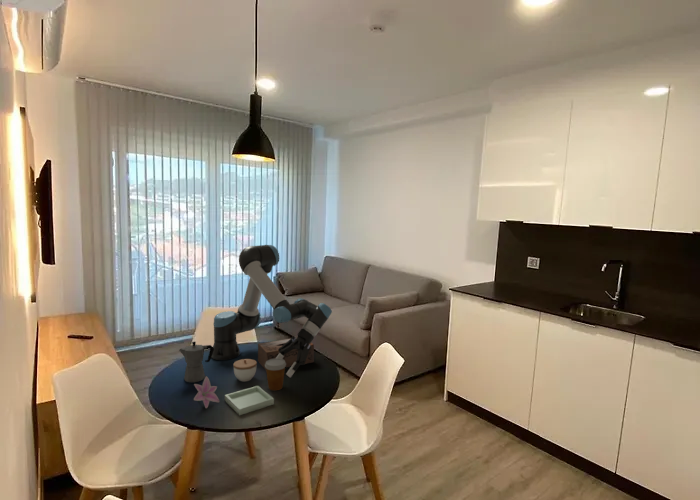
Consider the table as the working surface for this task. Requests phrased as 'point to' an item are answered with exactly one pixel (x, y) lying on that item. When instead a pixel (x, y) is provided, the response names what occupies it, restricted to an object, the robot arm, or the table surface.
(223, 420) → the table surface
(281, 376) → the disposable coffee cup
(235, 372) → the lidded jar
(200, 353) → the coffeepot
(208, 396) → the lily
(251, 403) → the tray
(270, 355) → the tissue box cover
